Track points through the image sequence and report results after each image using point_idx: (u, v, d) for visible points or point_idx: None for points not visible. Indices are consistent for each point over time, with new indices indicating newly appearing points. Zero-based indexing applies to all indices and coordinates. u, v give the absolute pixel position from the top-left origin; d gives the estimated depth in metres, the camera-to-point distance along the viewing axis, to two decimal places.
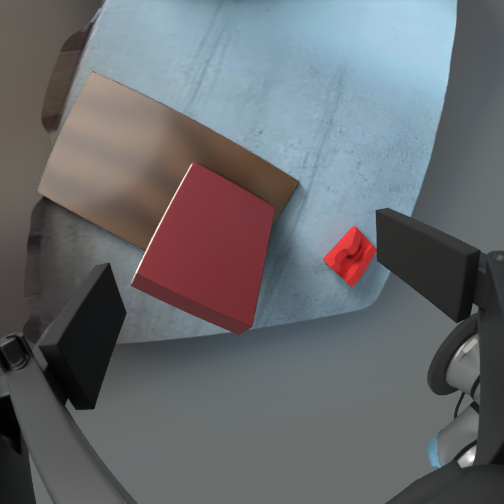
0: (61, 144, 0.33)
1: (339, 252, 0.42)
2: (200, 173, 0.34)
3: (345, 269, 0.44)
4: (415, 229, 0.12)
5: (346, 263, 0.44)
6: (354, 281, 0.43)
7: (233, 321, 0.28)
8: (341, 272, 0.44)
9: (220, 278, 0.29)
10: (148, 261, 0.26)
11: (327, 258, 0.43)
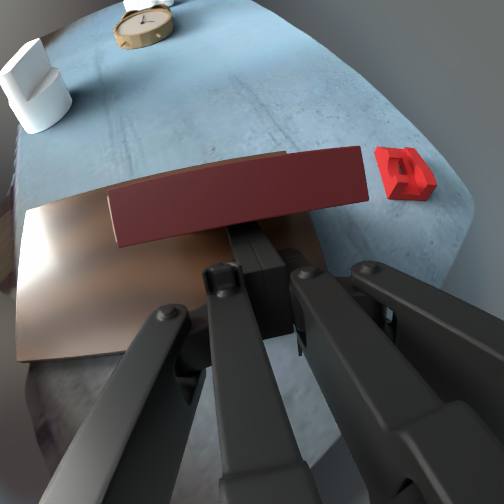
0: (23, 290, 0.25)
1: (389, 171, 0.30)
2: None
3: (414, 185, 0.30)
4: (249, 241, 0.13)
5: (408, 179, 0.30)
6: (432, 178, 0.28)
7: (327, 159, 0.13)
8: (415, 190, 0.30)
9: None
10: None
11: (388, 190, 0.30)
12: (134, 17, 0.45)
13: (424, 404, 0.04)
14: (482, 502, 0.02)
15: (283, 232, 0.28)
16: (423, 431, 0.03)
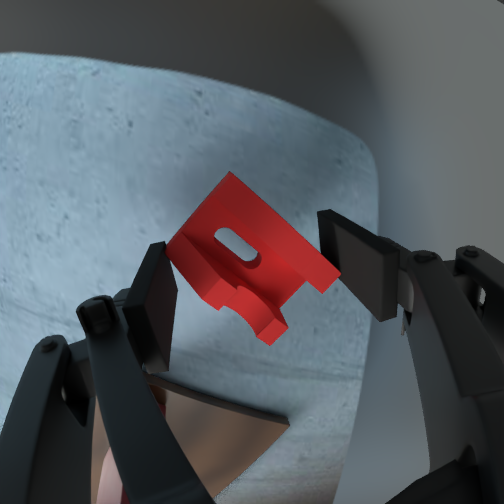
0: None
1: (234, 306, 0.15)
2: (104, 463, 0.22)
3: (289, 267, 0.16)
4: (344, 229, 0.13)
5: (272, 267, 0.16)
6: (324, 268, 0.14)
7: None
8: (297, 278, 0.16)
9: None
10: None
11: None
12: None
13: (498, 384, 0.04)
14: None
15: (195, 424, 0.23)
16: (491, 400, 0.03)
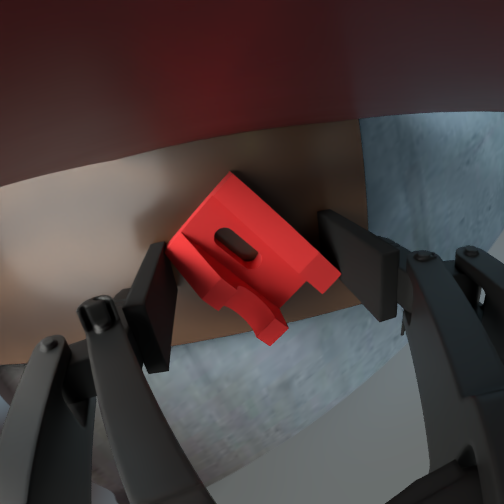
0: None
1: (234, 306, 0.15)
2: None
3: (290, 267, 0.16)
4: (344, 229, 0.13)
5: (272, 267, 0.16)
6: (325, 268, 0.14)
7: None
8: (297, 278, 0.16)
9: None
10: None
11: None
12: None
13: (498, 384, 0.04)
14: None
15: (317, 183, 0.16)
16: (491, 400, 0.03)
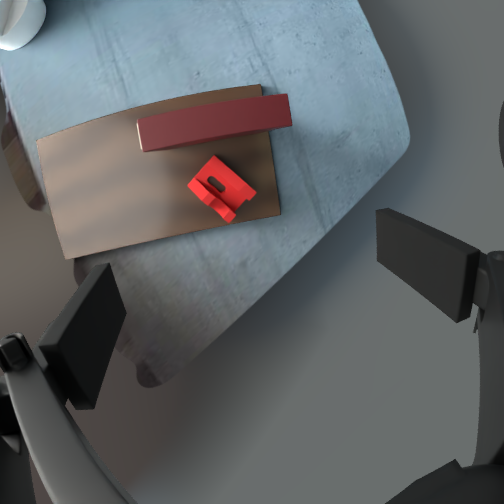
0: (56, 209, 0.36)
1: (214, 207, 0.38)
2: None
3: (238, 193, 0.38)
4: (415, 229, 0.12)
5: (230, 193, 0.38)
6: (249, 189, 0.36)
7: (265, 101, 0.21)
8: (241, 198, 0.38)
9: None
10: None
11: None
12: None
13: None
14: None
15: (250, 159, 0.38)
16: None
